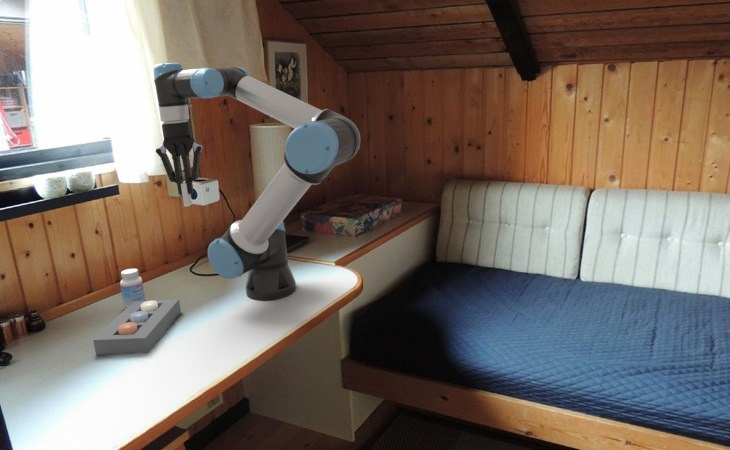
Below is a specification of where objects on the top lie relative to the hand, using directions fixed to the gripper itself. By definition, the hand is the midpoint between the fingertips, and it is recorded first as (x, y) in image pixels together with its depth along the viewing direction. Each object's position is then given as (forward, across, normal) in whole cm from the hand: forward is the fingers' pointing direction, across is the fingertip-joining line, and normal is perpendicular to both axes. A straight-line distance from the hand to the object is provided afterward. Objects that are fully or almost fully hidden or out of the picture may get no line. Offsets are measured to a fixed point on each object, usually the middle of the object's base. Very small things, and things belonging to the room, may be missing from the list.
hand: (188, 205), depth 163 cm
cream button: (+28, +10, +13) cm, 33 cm away
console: (+29, +11, +20) cm, 37 cm away
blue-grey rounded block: (+28, +11, +20) cm, 36 cm away
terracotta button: (+28, +11, +27) cm, 40 cm away
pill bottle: (+29, +19, +2) cm, 35 cm away
